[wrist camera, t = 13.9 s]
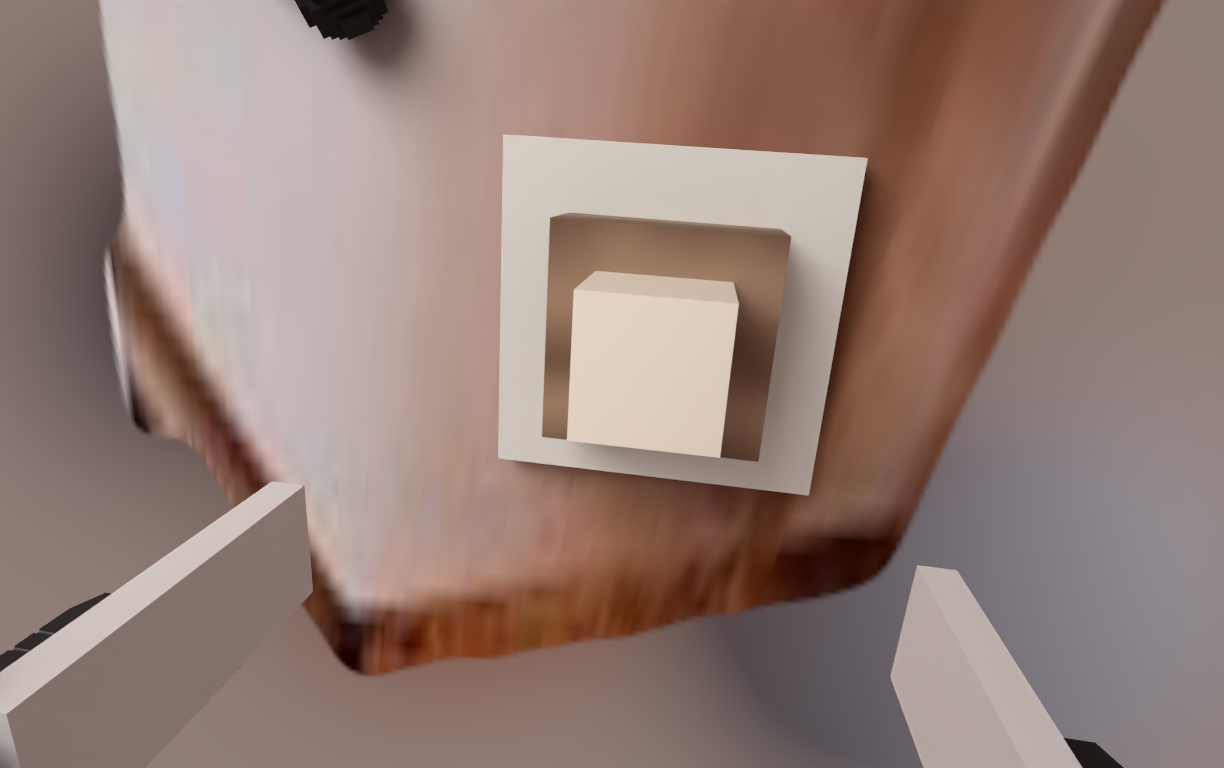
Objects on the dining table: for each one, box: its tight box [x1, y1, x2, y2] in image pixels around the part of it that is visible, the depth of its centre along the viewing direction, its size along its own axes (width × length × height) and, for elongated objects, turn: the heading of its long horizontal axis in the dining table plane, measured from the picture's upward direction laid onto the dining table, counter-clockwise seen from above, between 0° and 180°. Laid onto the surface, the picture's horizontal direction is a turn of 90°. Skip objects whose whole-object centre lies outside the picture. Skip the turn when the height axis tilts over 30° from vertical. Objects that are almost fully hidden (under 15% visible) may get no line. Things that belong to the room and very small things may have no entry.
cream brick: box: [567, 271, 739, 458], centre depth 32 cm, size 7×7×6 cm
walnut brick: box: [542, 213, 791, 462], centre depth 37 cm, size 12×12×5 cm
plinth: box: [498, 134, 868, 496], centre depth 40 cm, size 20×20×2 cm
